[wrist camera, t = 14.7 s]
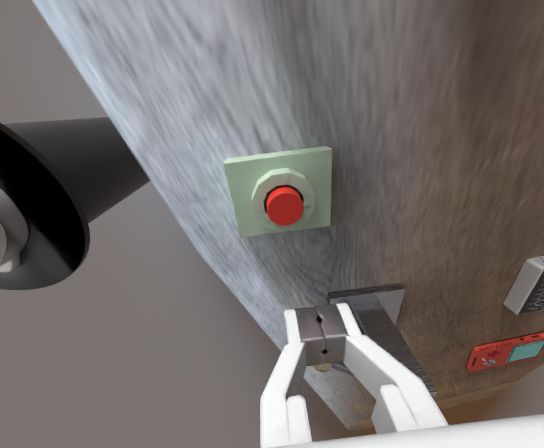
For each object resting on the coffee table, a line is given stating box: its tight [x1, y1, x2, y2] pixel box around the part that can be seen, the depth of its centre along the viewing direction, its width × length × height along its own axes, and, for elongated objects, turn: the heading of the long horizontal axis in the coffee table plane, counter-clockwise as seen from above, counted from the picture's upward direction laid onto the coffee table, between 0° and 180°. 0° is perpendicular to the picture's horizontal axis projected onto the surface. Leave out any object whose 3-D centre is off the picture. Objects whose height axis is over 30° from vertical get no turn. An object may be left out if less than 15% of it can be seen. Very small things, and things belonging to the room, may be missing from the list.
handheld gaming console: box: [467, 332, 544, 372], centre depth 46 cm, size 9×1×15 cm
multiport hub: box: [503, 256, 544, 315], centre depth 35 cm, size 4×11×2 cm, turn 11°
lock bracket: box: [327, 284, 437, 397], centre depth 30 cm, size 12×9×14 cm
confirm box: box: [224, 146, 332, 238], centre depth 23 cm, size 11×9×4 cm
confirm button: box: [266, 187, 304, 226], centre depth 21 cm, size 4×4×2 cm
